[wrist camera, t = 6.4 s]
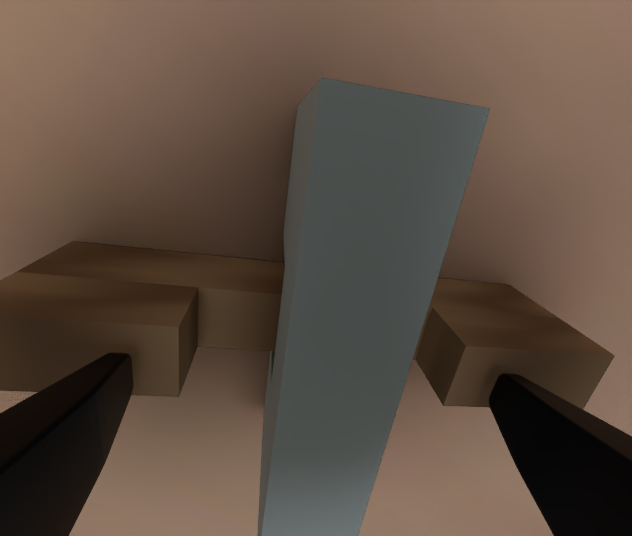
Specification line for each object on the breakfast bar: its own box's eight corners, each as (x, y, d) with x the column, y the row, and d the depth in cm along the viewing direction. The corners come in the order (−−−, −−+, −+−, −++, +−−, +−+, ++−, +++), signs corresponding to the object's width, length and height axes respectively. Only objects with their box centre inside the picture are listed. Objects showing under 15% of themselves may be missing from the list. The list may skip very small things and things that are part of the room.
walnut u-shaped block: (509, 284, 13) (614, 355, 9) (492, 327, 14) (582, 410, 10) (72, 241, 11) (-58, 311, 7) (79, 295, 11) (-33, 389, 7)
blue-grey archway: (376, 119, 10) (489, 108, 5) (320, 409, 15) (345, 576, 9) (297, 106, 10) (321, 77, 4) (263, 408, 14) (255, 581, 9)
